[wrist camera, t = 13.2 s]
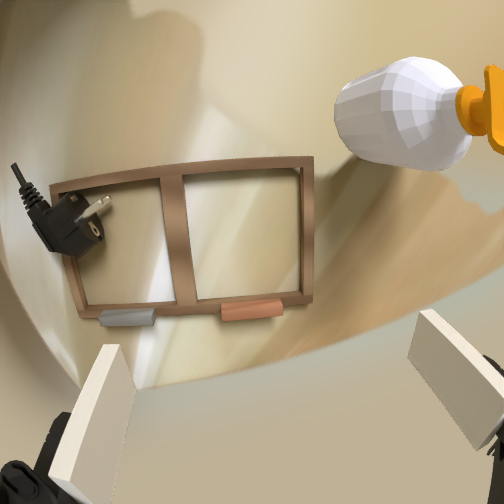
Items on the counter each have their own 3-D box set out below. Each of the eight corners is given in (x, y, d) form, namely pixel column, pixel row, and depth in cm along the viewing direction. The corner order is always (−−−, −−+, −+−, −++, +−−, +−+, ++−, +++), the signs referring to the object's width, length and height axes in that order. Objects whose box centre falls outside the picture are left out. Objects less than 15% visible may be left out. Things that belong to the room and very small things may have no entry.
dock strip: (54, 183, 25) (40, 187, 23) (309, 156, 27) (319, 157, 25) (83, 312, 30) (73, 326, 28) (309, 297, 32) (317, 311, 30)
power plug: (-7, 172, 18) (57, 278, 23) (46, 116, 18) (116, 231, 23) (22, 167, 24) (77, 257, 28) (71, 122, 24) (130, 217, 28)
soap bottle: (407, 87, 26) (612, 68, 2) (405, 166, 29) (617, 229, 5) (332, 70, 25) (546, -26, 2) (331, 158, 28) (579, 218, 5)
